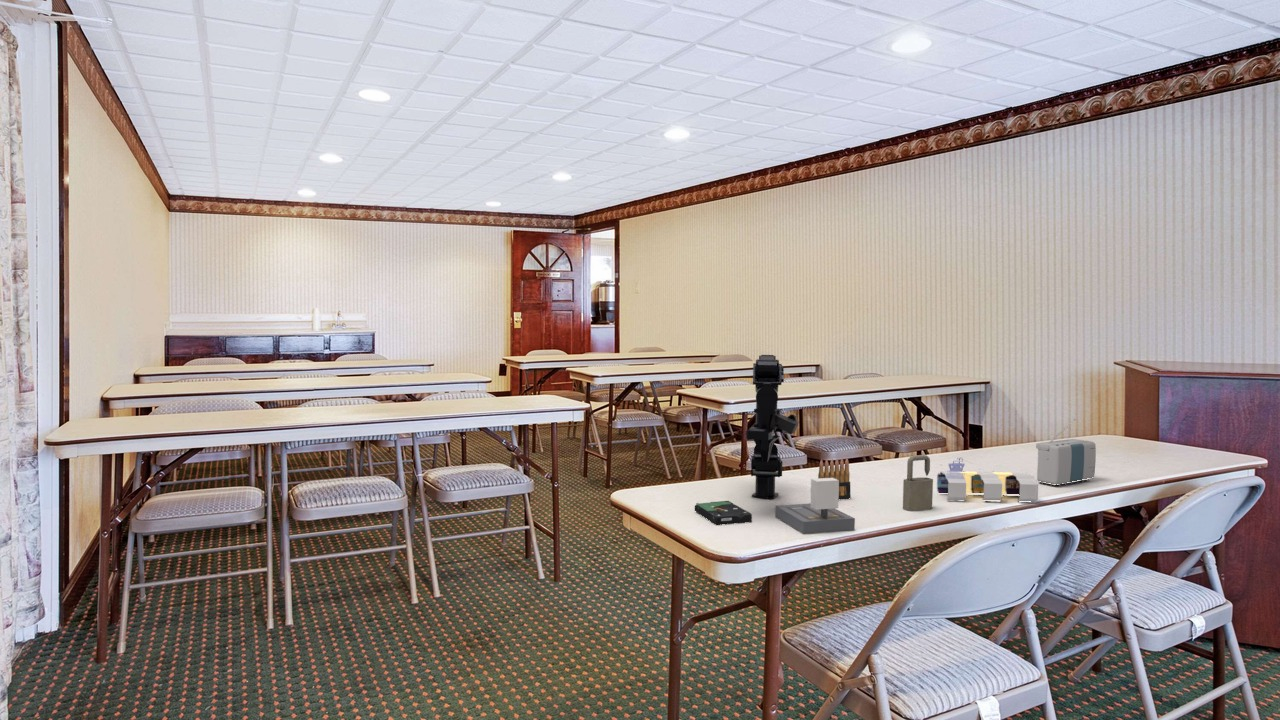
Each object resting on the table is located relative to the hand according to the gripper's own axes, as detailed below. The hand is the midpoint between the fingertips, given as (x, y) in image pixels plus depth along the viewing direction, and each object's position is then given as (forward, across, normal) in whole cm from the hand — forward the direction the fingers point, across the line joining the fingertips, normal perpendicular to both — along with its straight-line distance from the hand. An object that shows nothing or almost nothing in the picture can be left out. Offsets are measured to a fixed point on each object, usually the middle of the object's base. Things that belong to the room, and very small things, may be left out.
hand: (765, 461), depth 203 cm
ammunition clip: (+13, +20, -15) cm, 28 cm away
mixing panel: (+14, -8, -15) cm, 22 cm away
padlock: (+13, +20, -38) cm, 45 cm away
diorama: (+13, +42, -55) cm, 70 cm away
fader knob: (+10, -12, -18) cm, 24 cm away
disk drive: (+14, -12, +8) cm, 20 cm away
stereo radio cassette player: (+12, +78, -78) cm, 111 cm away
